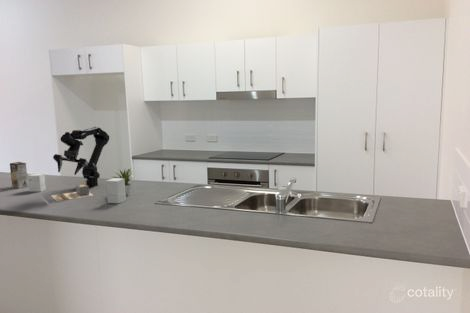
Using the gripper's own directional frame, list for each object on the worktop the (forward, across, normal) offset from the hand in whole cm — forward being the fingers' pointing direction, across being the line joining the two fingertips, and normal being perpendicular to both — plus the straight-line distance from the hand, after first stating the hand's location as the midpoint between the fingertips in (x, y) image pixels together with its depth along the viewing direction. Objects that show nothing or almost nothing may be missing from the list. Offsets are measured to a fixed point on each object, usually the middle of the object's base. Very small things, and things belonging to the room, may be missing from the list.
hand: (66, 173), depth 227 cm
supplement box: (+14, +34, -10) cm, 38 cm away
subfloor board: (+12, +6, +4) cm, 14 cm away
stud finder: (+9, +10, +6) cm, 15 cm away
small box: (+8, -22, +24) cm, 34 cm away
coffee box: (+4, -39, +37) cm, 54 cm away
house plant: (+6, +35, +4) cm, 36 cm away
